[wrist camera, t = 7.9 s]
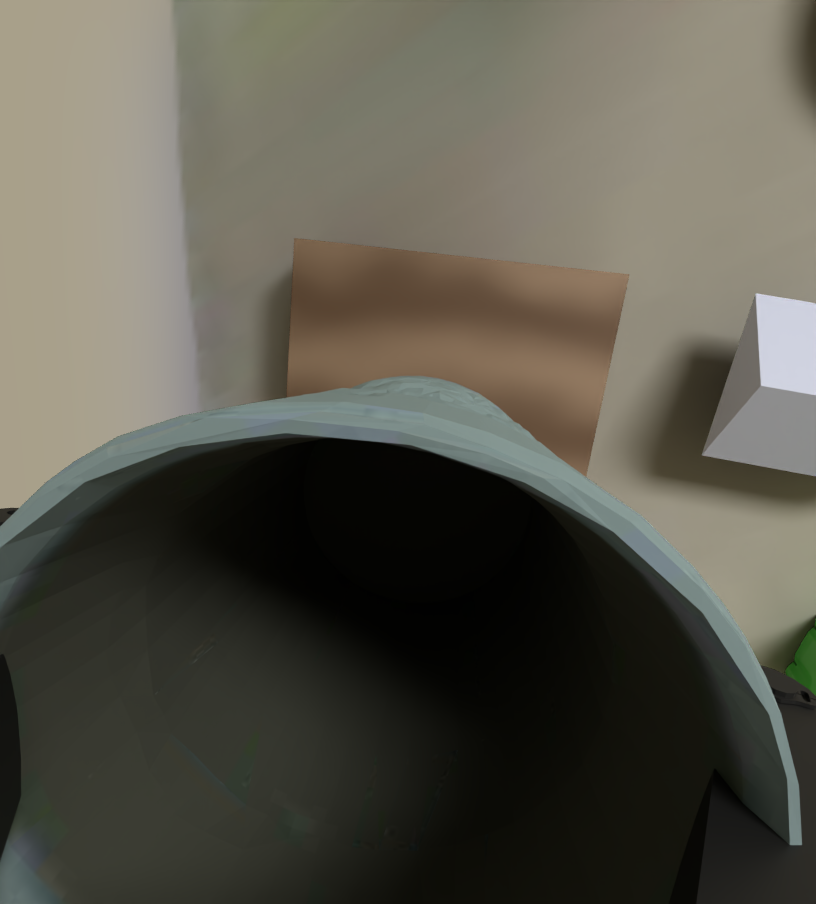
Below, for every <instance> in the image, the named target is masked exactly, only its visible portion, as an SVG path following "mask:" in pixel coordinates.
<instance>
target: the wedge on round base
mask: <svg viewBox="0 0 816 904" xmlns="http://www.w3.org/2000/svg"><path fill="white" fill-rule="evenodd" d="M702 455H703V456H708V457H714V458H719V459H724V460H730V461H735V462H741V463H746V464H751V465H757V466H762V467H768V468H773V469H779V470H784V471H789V472H795V473H800V474H806V475H811V476H816V303H811V302H805V301H799V300H793V299H787V298H781V297H775V296H769V295H763V294H757V293H756V294H755V297H754V300H753V303H752V306H751V309H750V312H749V315H748V318H747V321H746V324H745V327H744V330H743V333H742V336H741V339H740V342H739V345H738V348H737V351H736V354H735V357H734V360H733V363H732V366H731V369H730V372H729V375H728V378H727V381H726V384H725V387H724V390H723V393H722V396H721V399H720V402H719V405H718V408H717V411H716V414H715V417H714V420H713V423H712V426H711V429H710V432H709V434H708V437H707V440H706V443H705V446H704V449H703V452H702Z"/></svg>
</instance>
